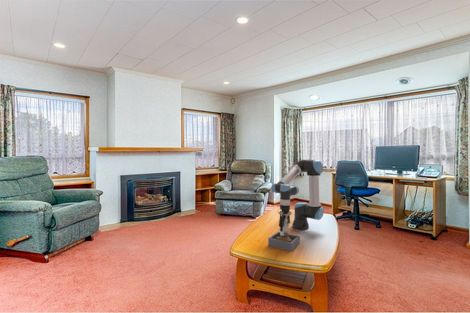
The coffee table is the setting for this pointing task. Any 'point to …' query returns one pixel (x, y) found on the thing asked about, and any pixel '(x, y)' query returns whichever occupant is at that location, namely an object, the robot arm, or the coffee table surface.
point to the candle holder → (285, 229)
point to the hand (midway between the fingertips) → (284, 233)
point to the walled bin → (284, 242)
